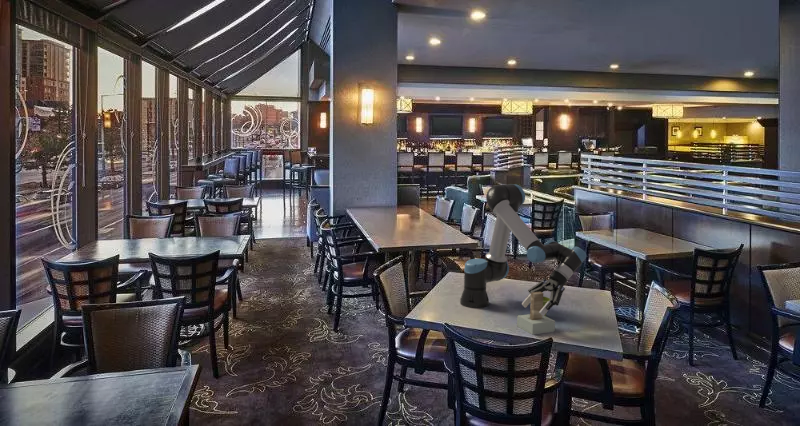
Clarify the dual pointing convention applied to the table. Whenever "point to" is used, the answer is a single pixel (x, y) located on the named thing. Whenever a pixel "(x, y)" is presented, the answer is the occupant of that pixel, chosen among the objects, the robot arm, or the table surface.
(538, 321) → the end cap
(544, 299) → the plant pot
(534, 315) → the slat
